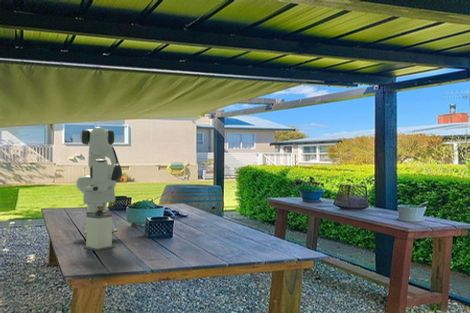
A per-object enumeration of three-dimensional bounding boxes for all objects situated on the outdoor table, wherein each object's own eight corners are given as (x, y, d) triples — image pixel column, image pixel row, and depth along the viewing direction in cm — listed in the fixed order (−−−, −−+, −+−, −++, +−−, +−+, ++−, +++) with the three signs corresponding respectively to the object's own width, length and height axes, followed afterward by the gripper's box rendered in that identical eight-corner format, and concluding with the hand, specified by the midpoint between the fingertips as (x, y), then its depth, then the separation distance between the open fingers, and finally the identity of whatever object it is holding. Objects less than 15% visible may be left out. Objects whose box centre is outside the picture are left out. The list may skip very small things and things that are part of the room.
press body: (100, 244, 260) (101, 212, 259) (114, 247, 253) (114, 214, 253) (83, 248, 250) (84, 214, 249) (97, 251, 243) (98, 216, 243)
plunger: (99, 237, 256) (100, 205, 256) (107, 239, 252) (108, 206, 252) (90, 239, 250) (90, 206, 250) (98, 240, 246) (98, 207, 246)
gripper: (110, 185, 261) (110, 208, 262) (81, 187, 244) (81, 212, 244) (117, 186, 258) (117, 209, 258) (89, 188, 241) (88, 213, 241)
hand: (99, 210), depth 251 cm, fingers closed on plunger, 3 cm apart
